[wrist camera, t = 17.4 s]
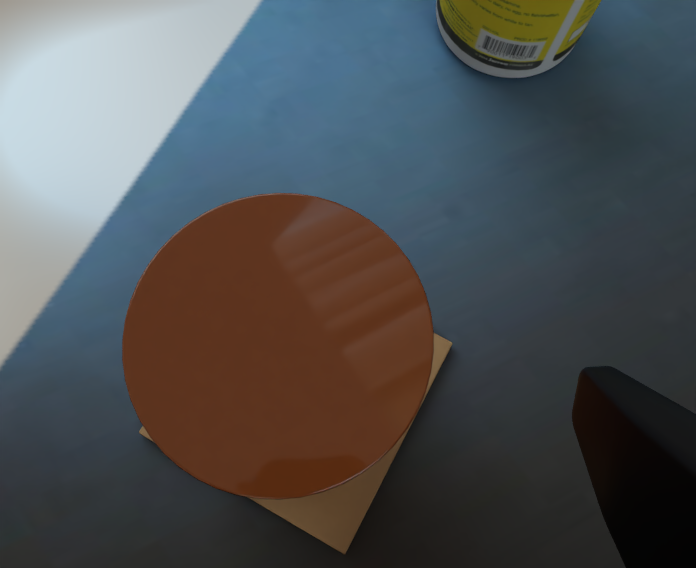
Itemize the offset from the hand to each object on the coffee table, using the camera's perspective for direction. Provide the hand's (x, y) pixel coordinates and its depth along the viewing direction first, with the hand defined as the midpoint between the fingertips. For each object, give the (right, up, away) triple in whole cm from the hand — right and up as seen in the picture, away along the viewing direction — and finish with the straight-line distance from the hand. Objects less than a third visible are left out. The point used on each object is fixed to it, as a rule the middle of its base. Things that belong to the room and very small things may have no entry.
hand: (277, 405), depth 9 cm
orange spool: (-1, -2, +13) cm, 13 cm away
